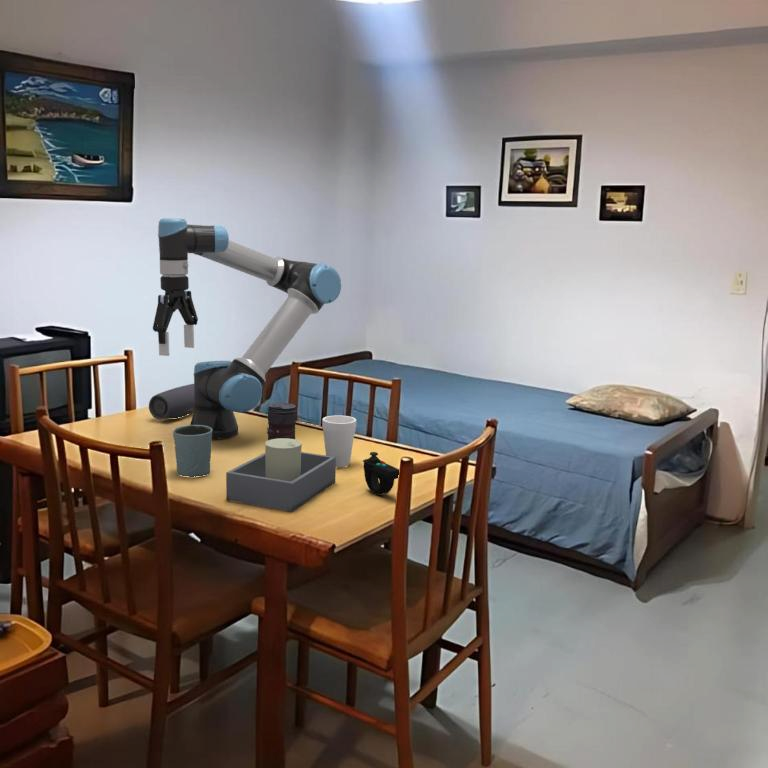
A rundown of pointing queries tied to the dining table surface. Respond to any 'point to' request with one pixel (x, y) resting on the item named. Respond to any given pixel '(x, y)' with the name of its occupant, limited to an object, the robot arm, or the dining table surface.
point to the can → (283, 459)
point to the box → (280, 483)
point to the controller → (379, 474)
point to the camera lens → (281, 421)
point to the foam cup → (339, 437)
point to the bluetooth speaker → (173, 403)
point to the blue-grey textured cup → (193, 449)
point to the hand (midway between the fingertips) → (177, 351)
